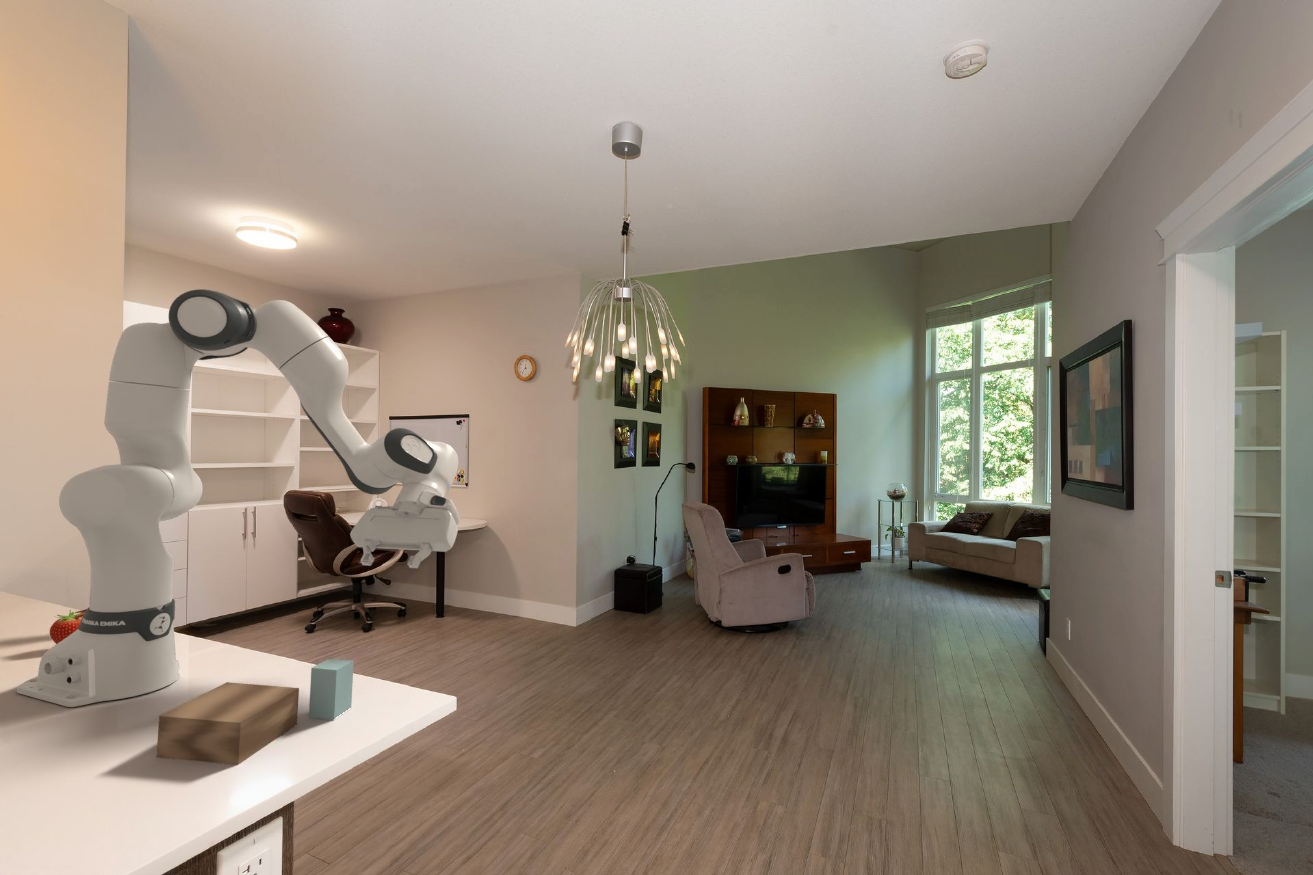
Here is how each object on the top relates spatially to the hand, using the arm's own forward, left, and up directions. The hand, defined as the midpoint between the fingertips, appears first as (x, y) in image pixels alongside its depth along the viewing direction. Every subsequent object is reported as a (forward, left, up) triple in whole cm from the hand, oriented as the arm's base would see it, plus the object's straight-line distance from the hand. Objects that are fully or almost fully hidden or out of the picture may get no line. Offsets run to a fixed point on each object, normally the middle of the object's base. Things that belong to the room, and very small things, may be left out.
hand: (388, 565), depth 114 cm
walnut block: (-8, -26, -22) cm, 35 cm away
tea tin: (0, -15, -21) cm, 26 cm away
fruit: (-67, -1, -22) cm, 71 cm away
